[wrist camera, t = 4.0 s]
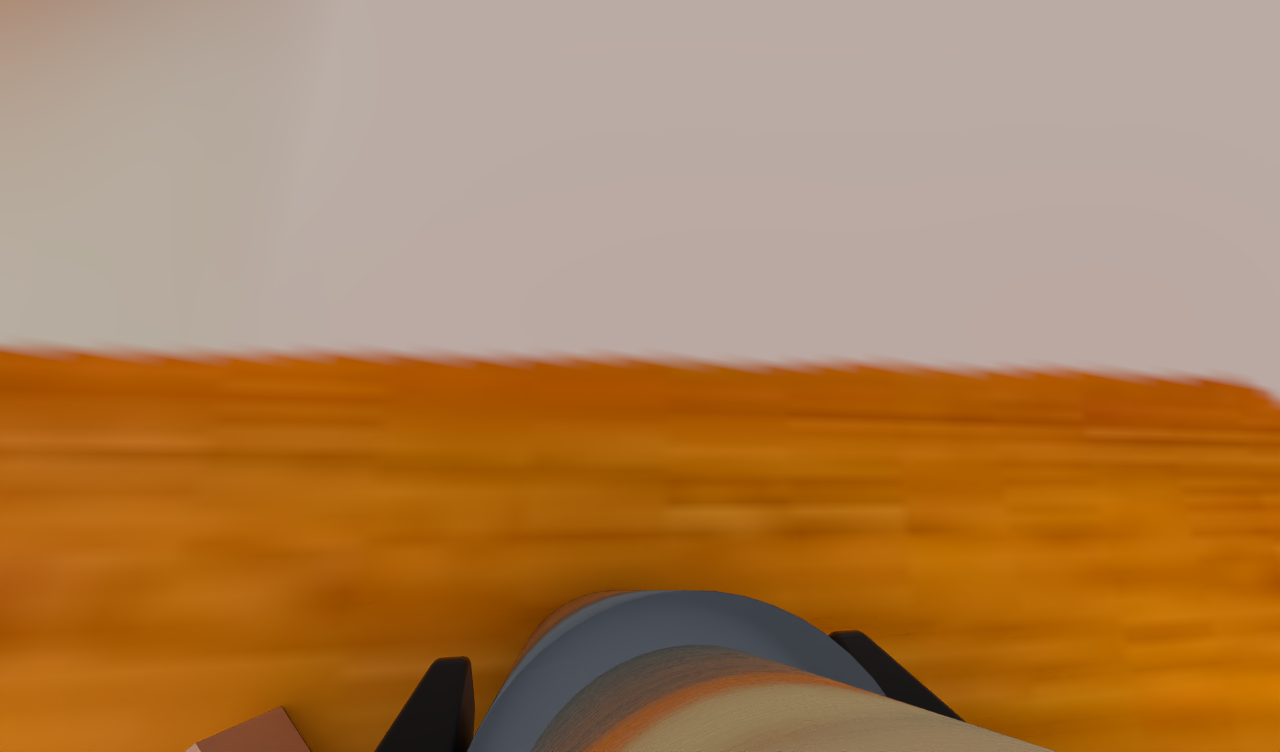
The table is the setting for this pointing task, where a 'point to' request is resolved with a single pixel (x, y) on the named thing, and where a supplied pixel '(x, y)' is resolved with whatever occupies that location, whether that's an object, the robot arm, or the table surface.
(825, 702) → the tube
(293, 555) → the table surface
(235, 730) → the socket block
